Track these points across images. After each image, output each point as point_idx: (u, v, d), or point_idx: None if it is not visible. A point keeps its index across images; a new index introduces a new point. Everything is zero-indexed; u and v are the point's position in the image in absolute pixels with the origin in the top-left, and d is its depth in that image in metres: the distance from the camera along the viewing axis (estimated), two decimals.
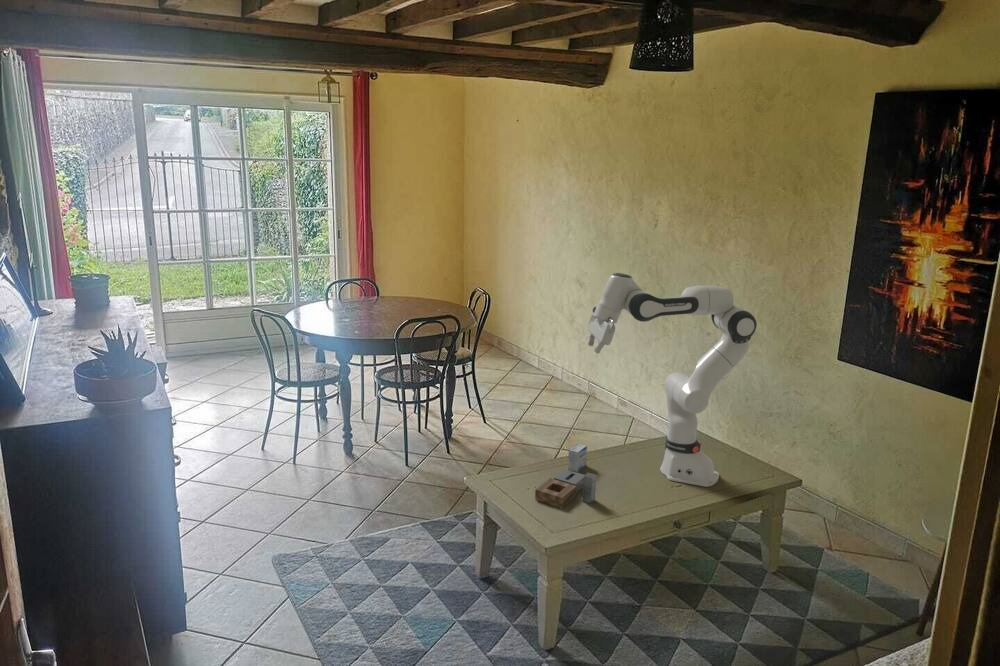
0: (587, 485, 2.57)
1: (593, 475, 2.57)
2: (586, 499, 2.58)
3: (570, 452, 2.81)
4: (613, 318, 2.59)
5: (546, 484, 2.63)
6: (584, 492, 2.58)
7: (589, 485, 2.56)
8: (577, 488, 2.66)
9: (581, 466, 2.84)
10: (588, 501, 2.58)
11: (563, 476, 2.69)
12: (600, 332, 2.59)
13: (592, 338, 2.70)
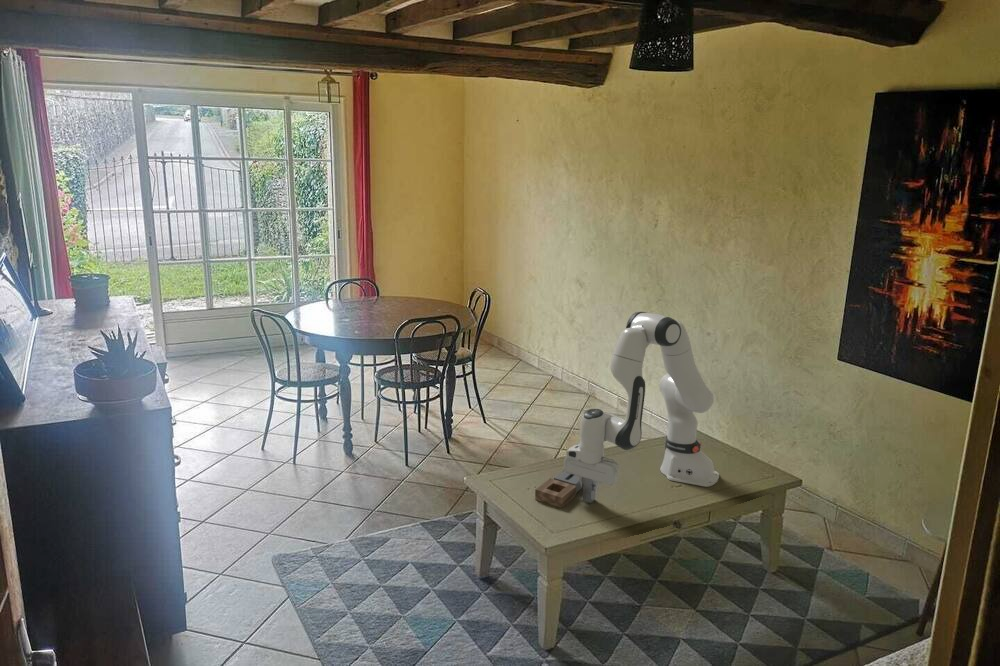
0: (587, 485, 2.57)
1: None
2: (586, 499, 2.58)
3: None
4: (603, 455, 2.54)
5: (546, 484, 2.63)
6: (584, 492, 2.58)
7: (589, 485, 2.56)
8: (577, 488, 2.66)
9: None
10: (588, 501, 2.58)
11: (563, 476, 2.69)
12: (601, 475, 2.52)
13: (582, 479, 2.59)
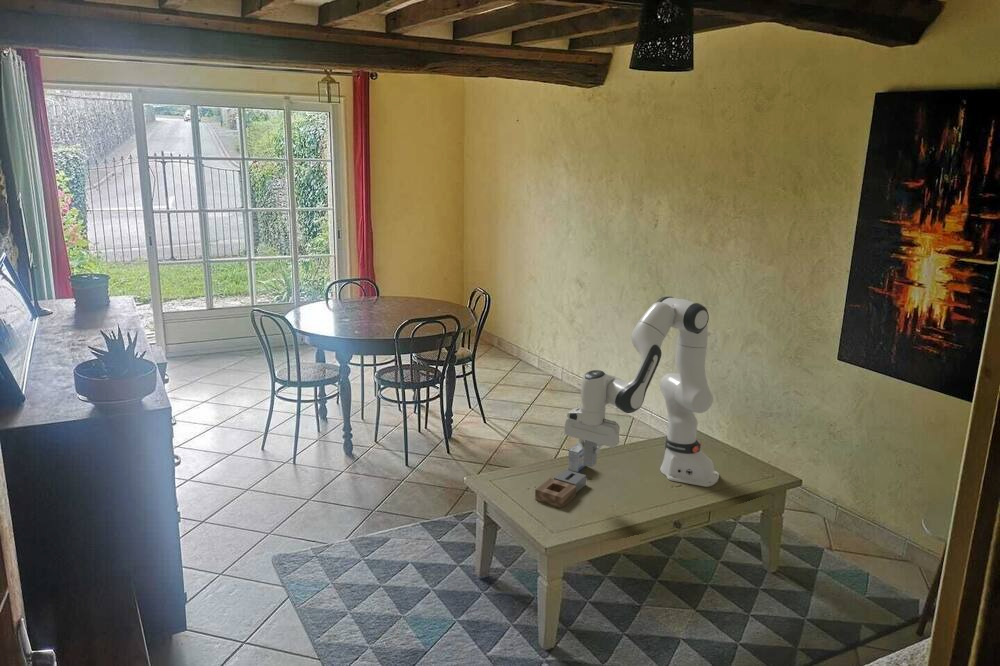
0: (588, 448, 2.53)
1: None
2: (588, 462, 2.54)
3: (570, 452, 2.81)
4: (604, 417, 2.50)
5: (546, 484, 2.63)
6: (585, 455, 2.54)
7: (590, 448, 2.52)
8: (577, 488, 2.66)
9: (581, 466, 2.84)
10: (589, 464, 2.54)
11: (563, 476, 2.69)
12: (603, 437, 2.48)
13: (583, 443, 2.56)
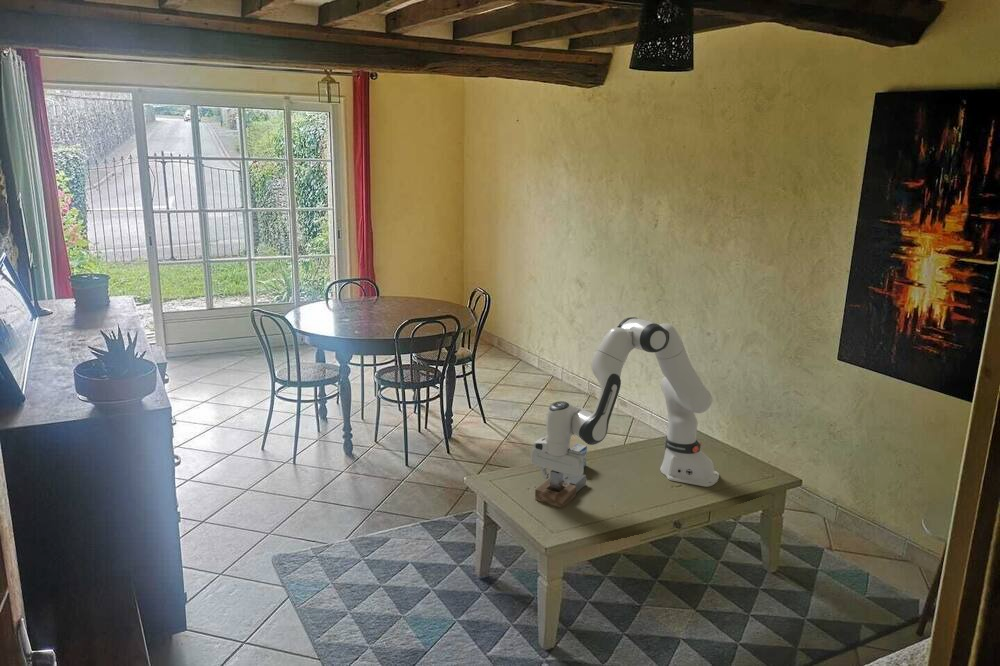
0: (553, 480, 2.58)
1: None
2: None
3: None
4: (569, 447, 2.55)
5: (546, 484, 2.63)
6: (551, 487, 2.59)
7: (556, 480, 2.58)
8: (577, 488, 2.66)
9: None
10: None
11: (563, 476, 2.69)
12: (567, 467, 2.53)
13: (544, 470, 2.62)
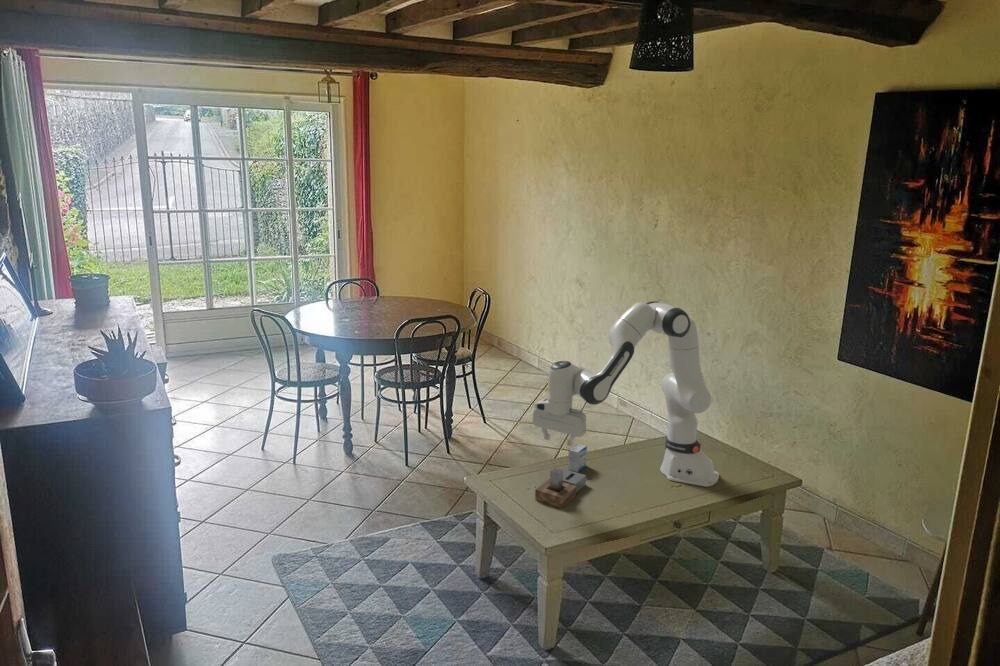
0: (553, 480, 2.58)
1: (560, 470, 2.59)
2: None
3: (570, 452, 2.81)
4: (571, 407, 2.53)
5: (546, 484, 2.63)
6: (551, 487, 2.59)
7: (556, 480, 2.58)
8: (577, 488, 2.66)
9: (581, 466, 2.84)
10: None
11: (563, 476, 2.69)
12: (570, 427, 2.51)
13: (545, 431, 2.59)
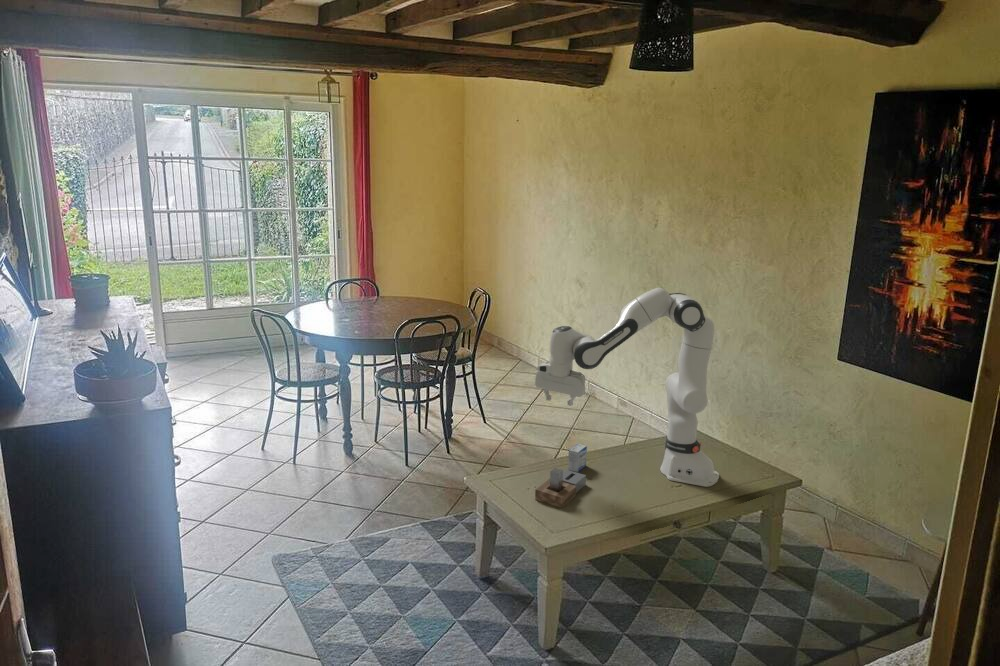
0: (553, 480, 2.58)
1: (560, 470, 2.59)
2: None
3: (570, 452, 2.81)
4: None
5: (546, 484, 2.63)
6: (551, 487, 2.59)
7: (556, 480, 2.58)
8: (577, 488, 2.66)
9: (581, 466, 2.84)
10: None
11: (563, 476, 2.69)
12: (570, 387, 2.68)
13: (547, 393, 2.77)
